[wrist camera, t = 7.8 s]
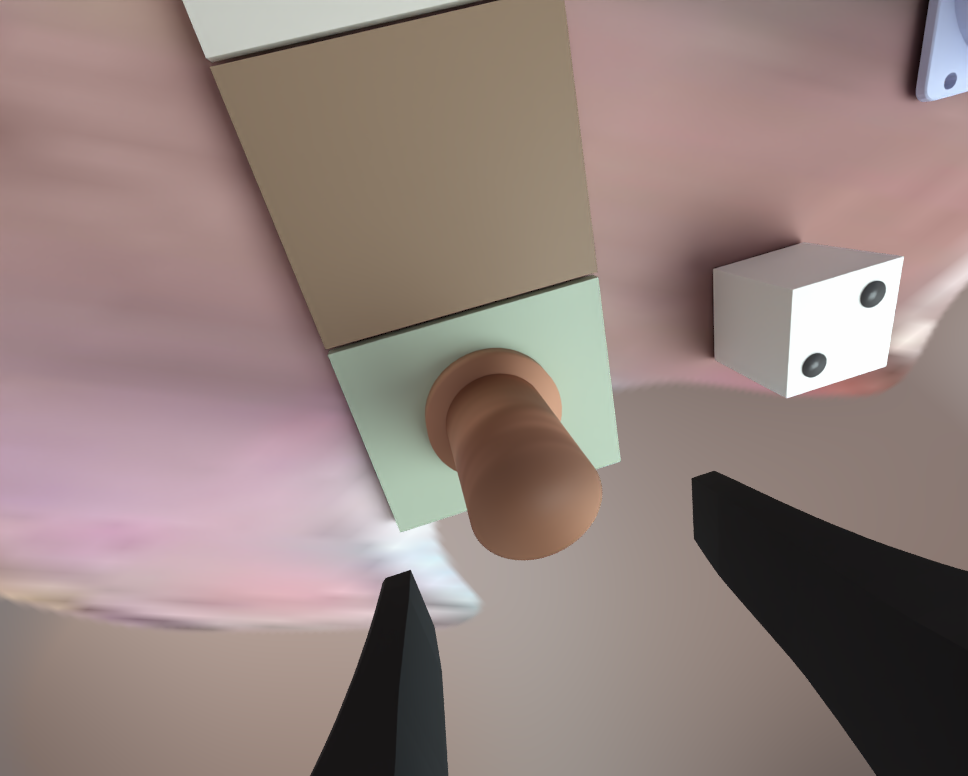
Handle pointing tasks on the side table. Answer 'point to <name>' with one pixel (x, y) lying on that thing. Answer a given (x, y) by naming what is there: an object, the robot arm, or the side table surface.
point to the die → (805, 315)
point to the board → (423, 205)
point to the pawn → (512, 454)
